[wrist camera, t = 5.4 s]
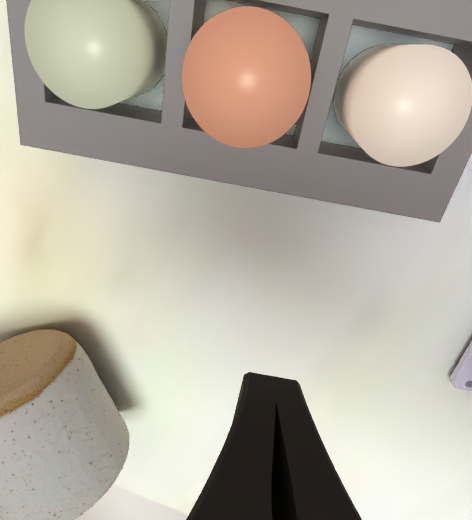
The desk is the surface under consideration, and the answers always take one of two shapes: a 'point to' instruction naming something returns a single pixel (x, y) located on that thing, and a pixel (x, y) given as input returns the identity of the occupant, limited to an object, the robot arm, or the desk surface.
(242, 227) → the desk surface
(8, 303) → the desk surface
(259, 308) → the desk surface
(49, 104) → the panel
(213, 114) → the button terracotta
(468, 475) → the desk surface
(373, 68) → the button cream
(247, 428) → the robot arm
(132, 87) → the button sage
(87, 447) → the ceramic mug
